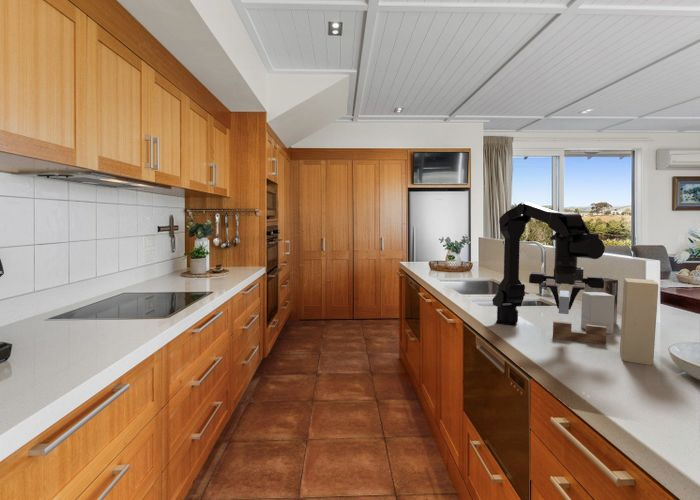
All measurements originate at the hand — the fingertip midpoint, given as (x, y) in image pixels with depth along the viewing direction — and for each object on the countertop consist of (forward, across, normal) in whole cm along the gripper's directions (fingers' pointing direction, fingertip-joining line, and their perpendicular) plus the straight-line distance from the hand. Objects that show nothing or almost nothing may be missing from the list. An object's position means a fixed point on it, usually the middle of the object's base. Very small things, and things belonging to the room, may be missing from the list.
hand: (563, 308), depth 111 cm
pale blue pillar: (+1, 0, +4) cm, 4 cm away
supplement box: (+11, +10, +25) cm, 29 cm away
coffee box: (+11, +12, +38) cm, 41 cm away
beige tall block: (+11, +18, -3) cm, 21 cm away
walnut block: (+11, +4, +8) cm, 14 cm away
